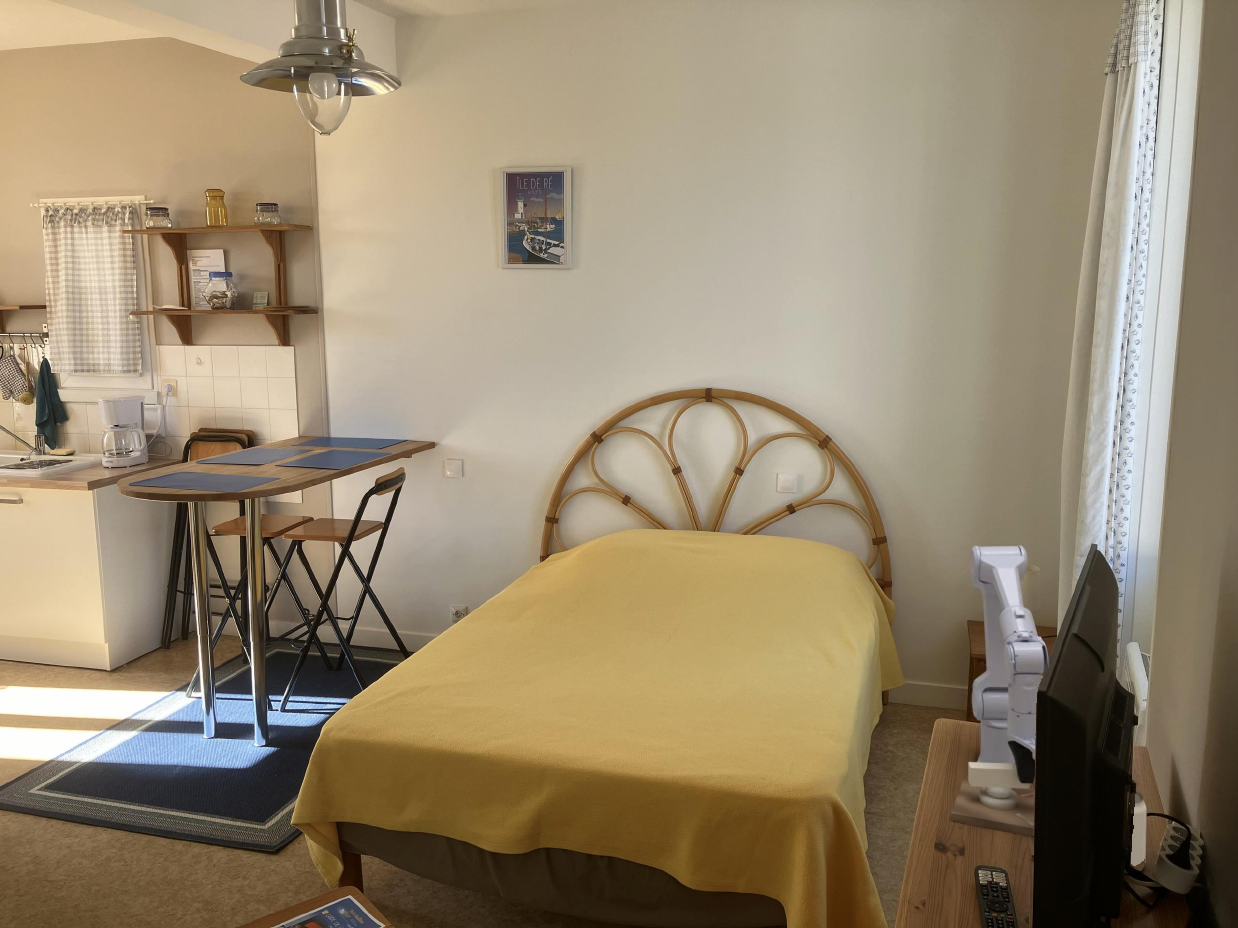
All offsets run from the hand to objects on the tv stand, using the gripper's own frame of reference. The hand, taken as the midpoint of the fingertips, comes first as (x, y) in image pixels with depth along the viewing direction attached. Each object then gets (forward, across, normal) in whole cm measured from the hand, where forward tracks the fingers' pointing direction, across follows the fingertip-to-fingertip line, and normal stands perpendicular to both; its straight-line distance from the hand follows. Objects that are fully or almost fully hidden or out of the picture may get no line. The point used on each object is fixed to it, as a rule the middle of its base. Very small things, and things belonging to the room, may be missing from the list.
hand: (1025, 781), depth 169 cm
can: (+7, -16, -10) cm, 20 cm away
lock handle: (+3, +2, +4) cm, 6 cm away
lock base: (+6, +2, +4) cm, 8 cm away
